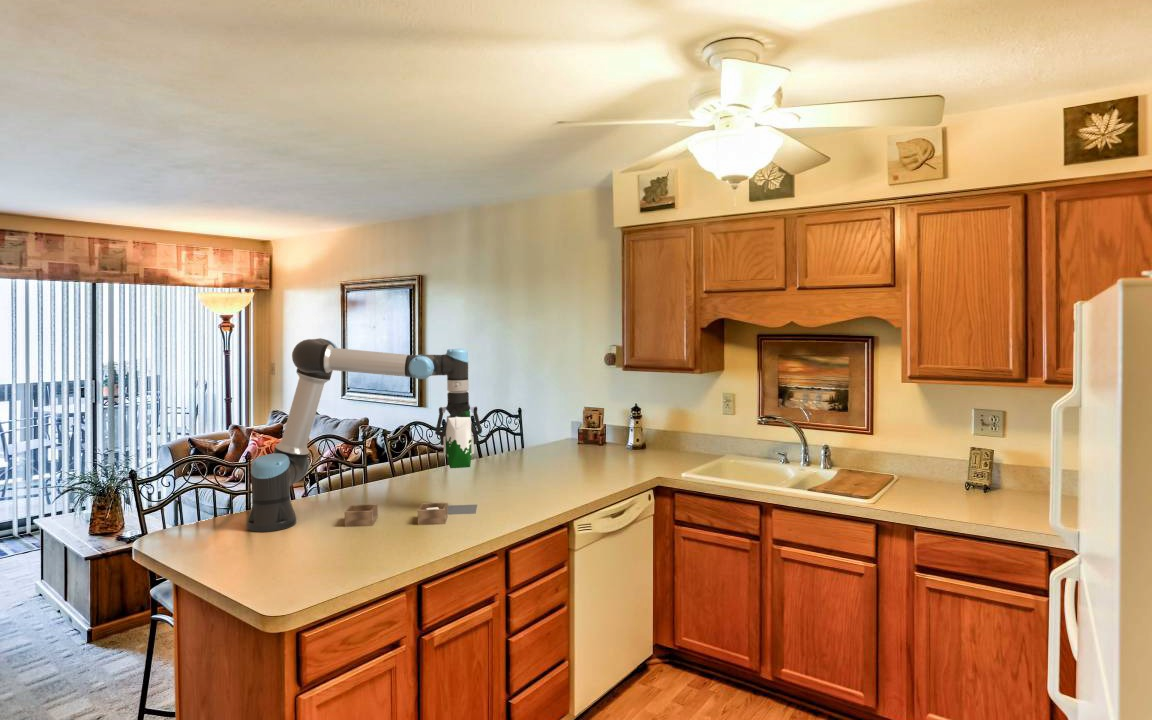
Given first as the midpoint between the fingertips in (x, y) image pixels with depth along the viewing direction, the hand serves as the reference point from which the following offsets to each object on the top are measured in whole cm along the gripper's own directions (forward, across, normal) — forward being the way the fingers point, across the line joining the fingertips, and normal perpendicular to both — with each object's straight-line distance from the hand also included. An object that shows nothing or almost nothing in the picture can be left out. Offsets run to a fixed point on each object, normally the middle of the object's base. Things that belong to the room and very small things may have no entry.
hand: (459, 453), depth 237 cm
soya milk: (+5, 0, 0) cm, 5 cm away
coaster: (+21, 0, 0) cm, 21 cm away
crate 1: (+21, -32, -12) cm, 40 cm away
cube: (+20, -8, -13) cm, 25 cm away
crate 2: (+21, -8, -13) cm, 26 cm away
